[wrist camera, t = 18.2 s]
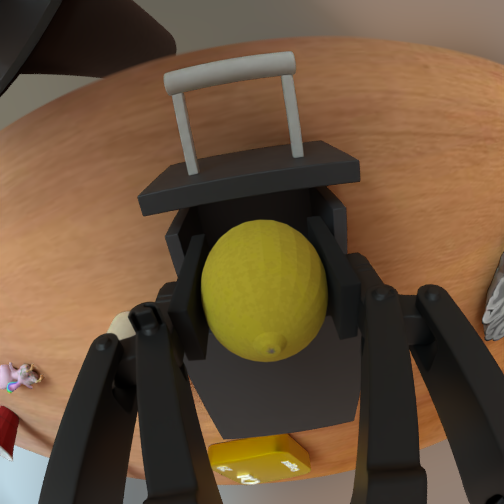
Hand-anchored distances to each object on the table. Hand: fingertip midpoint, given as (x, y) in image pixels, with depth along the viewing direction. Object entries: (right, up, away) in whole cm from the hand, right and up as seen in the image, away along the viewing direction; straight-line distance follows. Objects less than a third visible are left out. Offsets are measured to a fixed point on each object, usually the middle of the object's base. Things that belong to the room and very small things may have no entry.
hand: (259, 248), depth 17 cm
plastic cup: (-59, -39, +29) cm, 77 cm away
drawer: (0, +4, +6) cm, 8 cm away
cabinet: (+2, -6, +13) cm, 15 cm away
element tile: (+1, -37, +29) cm, 47 cm away
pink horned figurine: (-41, -20, +19) cm, 49 cm away
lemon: (0, 0, 0) cm, 0 cm away
